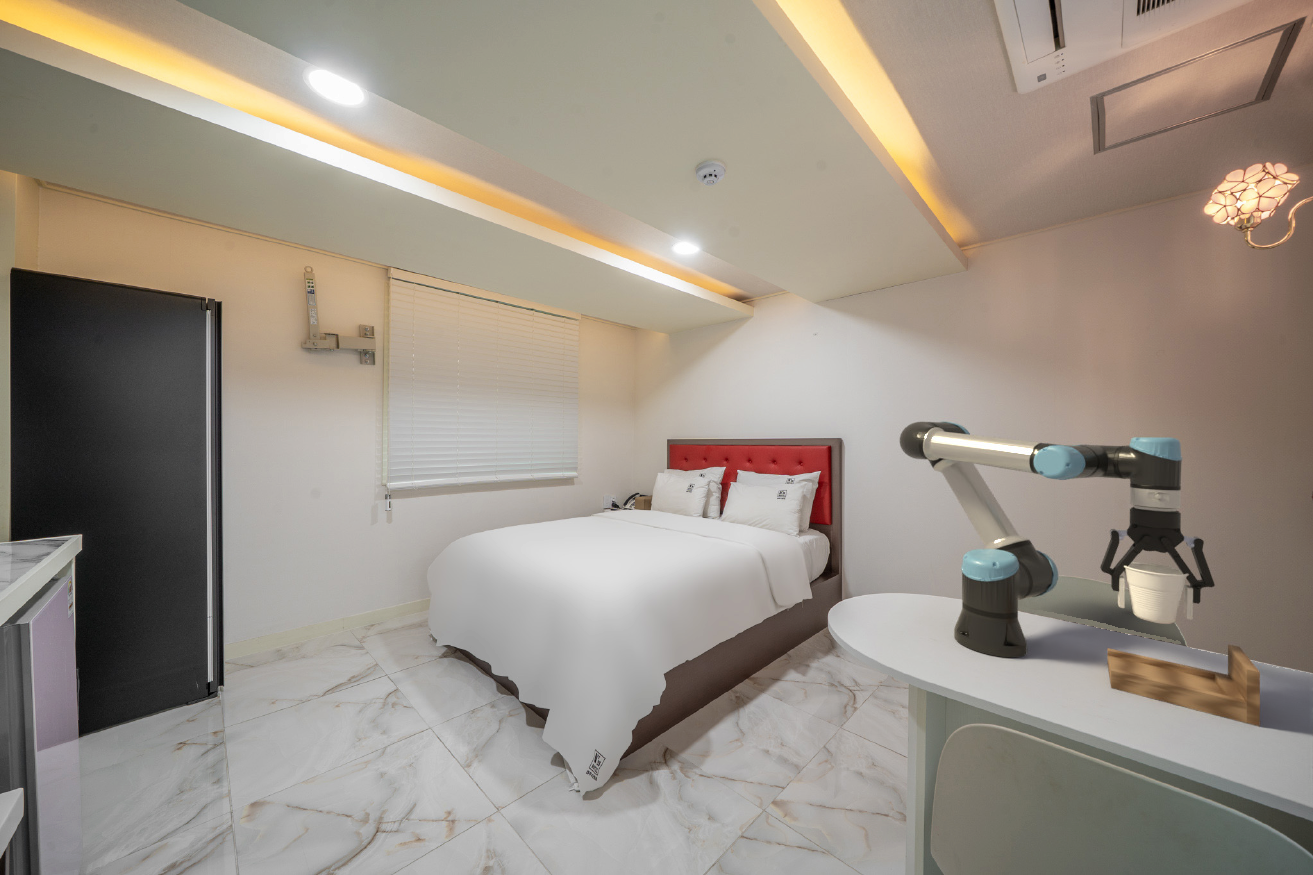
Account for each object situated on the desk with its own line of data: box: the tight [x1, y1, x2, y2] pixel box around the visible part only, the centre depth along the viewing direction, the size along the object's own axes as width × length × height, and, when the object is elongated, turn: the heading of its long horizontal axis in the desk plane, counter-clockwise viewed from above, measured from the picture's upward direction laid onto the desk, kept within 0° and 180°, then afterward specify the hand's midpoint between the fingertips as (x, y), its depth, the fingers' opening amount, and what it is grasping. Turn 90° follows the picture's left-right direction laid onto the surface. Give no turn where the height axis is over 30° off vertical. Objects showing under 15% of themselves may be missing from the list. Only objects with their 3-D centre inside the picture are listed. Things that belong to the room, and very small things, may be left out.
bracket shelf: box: [1106, 644, 1261, 727], centre depth 97 cm, size 20×14×10 cm
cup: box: [1123, 561, 1189, 625], centre depth 100 cm, size 10×10×11 cm
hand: (1153, 611), depth 100 cm, fingers closed on cup, 9 cm apart
